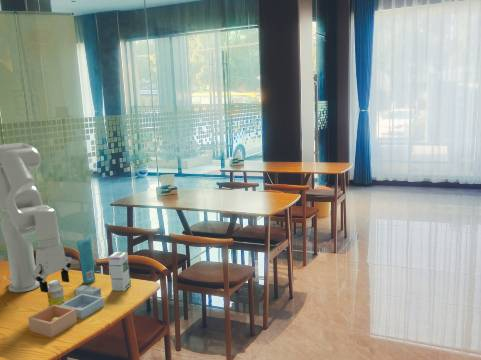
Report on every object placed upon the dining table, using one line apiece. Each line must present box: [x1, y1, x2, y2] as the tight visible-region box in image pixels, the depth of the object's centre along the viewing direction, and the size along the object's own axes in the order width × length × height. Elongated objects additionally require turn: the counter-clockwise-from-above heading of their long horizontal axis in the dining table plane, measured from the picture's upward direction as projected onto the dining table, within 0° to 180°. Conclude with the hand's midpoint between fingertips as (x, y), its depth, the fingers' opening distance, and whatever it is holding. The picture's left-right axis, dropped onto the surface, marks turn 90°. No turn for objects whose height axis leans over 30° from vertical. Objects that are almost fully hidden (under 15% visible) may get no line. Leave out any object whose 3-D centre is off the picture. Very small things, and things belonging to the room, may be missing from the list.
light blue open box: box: [60, 294, 105, 320], centre depth 168 cm, size 11×11×4 cm
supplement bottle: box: [46, 279, 66, 307], centre depth 172 cm, size 6×6×10 cm
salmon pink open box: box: [27, 305, 78, 338], centre depth 156 cm, size 11×11×6 cm
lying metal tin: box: [74, 284, 103, 298], centre depth 179 cm, size 9×4×4 cm, turn 67°
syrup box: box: [107, 251, 132, 292], centre depth 186 cm, size 6×6×14 cm
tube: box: [76, 235, 96, 284], centre depth 194 cm, size 7×5×19 cm, turn 158°
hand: (55, 286), depth 170 cm, fingers open, 9 cm apart
